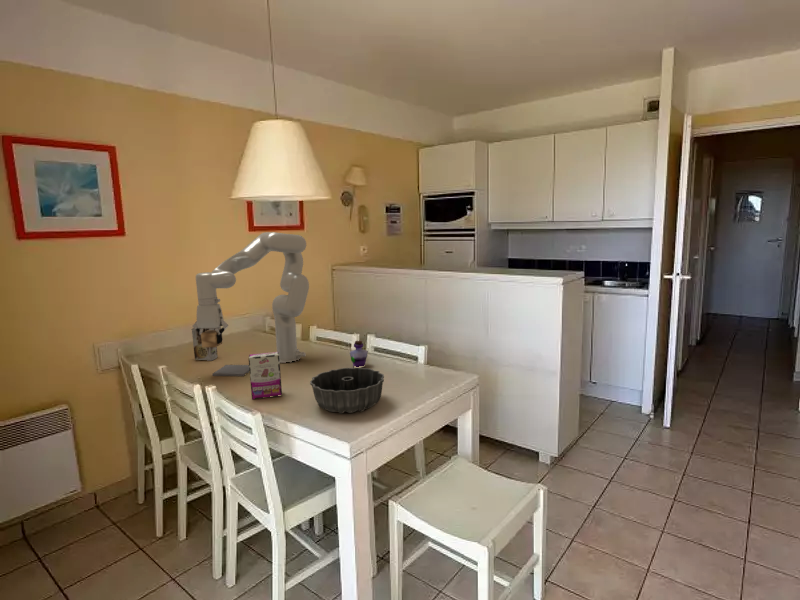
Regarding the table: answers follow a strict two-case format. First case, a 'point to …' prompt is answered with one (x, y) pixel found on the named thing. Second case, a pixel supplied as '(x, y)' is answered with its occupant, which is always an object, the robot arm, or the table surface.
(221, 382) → the table surface
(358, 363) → the potion bottle
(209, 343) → the oak cube
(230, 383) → the table surface
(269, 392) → the candy bar box
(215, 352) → the coffee box
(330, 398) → the bundt pan
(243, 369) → the charcoal mat
